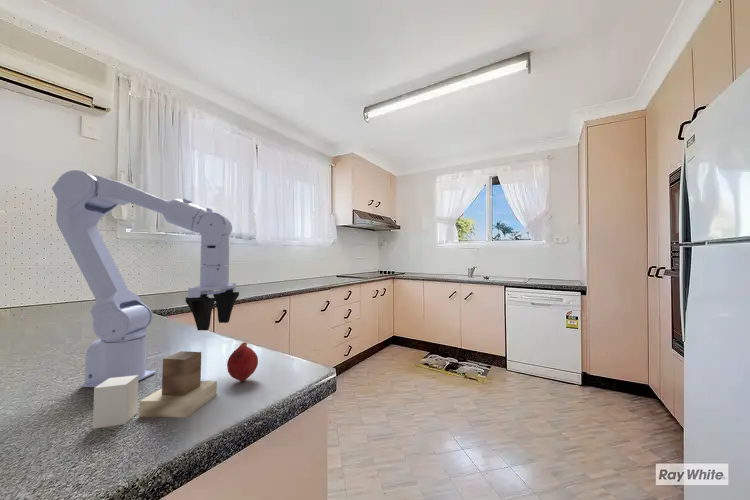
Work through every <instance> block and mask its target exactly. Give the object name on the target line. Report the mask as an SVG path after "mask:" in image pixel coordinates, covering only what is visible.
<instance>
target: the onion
mask: <svg viewBox="0 0 750 500" xmlns="http://www.w3.org/2000/svg"><path fill="white" fill-rule="evenodd" d="M226 363H227V365H226V366H227V373H228V374H229V375H230V376H231V378H233V379H235V380H237V381H239V382H242V383H243V382H245V381H246V380H248V379H249V377H250V376H252V375H253V374H254V372H255V371H256V369H257V368H258V365H259V364H258V363H259V357H258V355H257V353H256V352H255V350H253V349H252V348H251V347H249V346H248V343H247V341H243V342H241V344H239V346H238V348H236V349H235V350H234V351H233V352H232V353H231V354H230V355H229V356H228V359H227V362H226Z"/></svg>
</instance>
